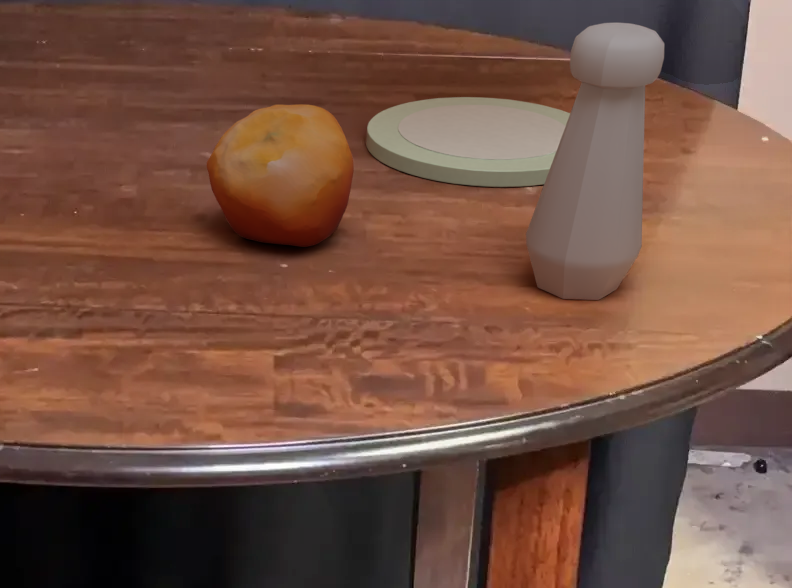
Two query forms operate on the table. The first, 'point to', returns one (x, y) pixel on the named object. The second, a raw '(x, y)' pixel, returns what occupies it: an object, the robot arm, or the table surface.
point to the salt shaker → (597, 167)
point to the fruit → (283, 175)
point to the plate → (469, 140)
